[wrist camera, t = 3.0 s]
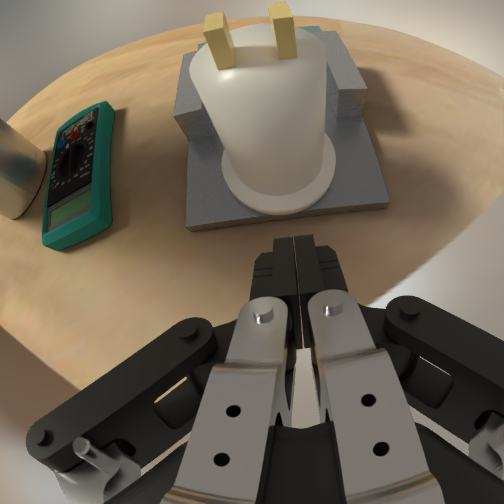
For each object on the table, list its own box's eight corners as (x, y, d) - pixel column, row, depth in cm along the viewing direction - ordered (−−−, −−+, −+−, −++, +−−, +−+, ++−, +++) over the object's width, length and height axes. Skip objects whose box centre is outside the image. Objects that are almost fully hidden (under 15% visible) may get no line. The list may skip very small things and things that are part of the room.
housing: (191, 231, 19) (164, 208, 15) (201, 50, 24) (189, 24, 21) (386, 208, 17) (403, 178, 13) (319, 32, 22) (317, 4, 19)
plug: (227, 222, 17) (133, 96, 7) (224, 132, 19) (167, 6, 9) (344, 208, 16) (380, 56, 6) (322, 118, 18) (320, -20, 8)
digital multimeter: (118, 108, 25) (104, 92, 22) (116, 229, 21) (94, 216, 18) (69, 138, 26) (54, 125, 23) (59, 255, 21) (36, 247, 19)
